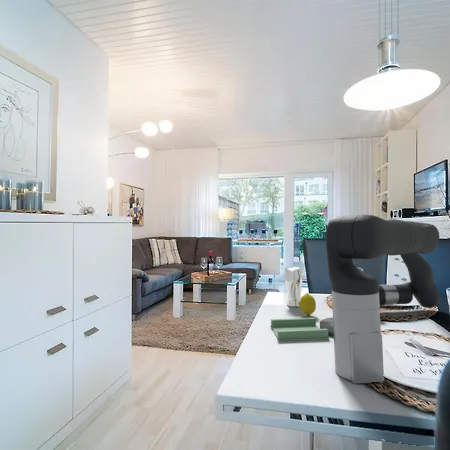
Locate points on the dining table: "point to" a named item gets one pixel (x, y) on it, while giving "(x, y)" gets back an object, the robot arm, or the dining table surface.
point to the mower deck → (327, 325)
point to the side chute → (298, 329)
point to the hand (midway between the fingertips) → (337, 297)
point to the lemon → (307, 304)
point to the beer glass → (293, 286)
